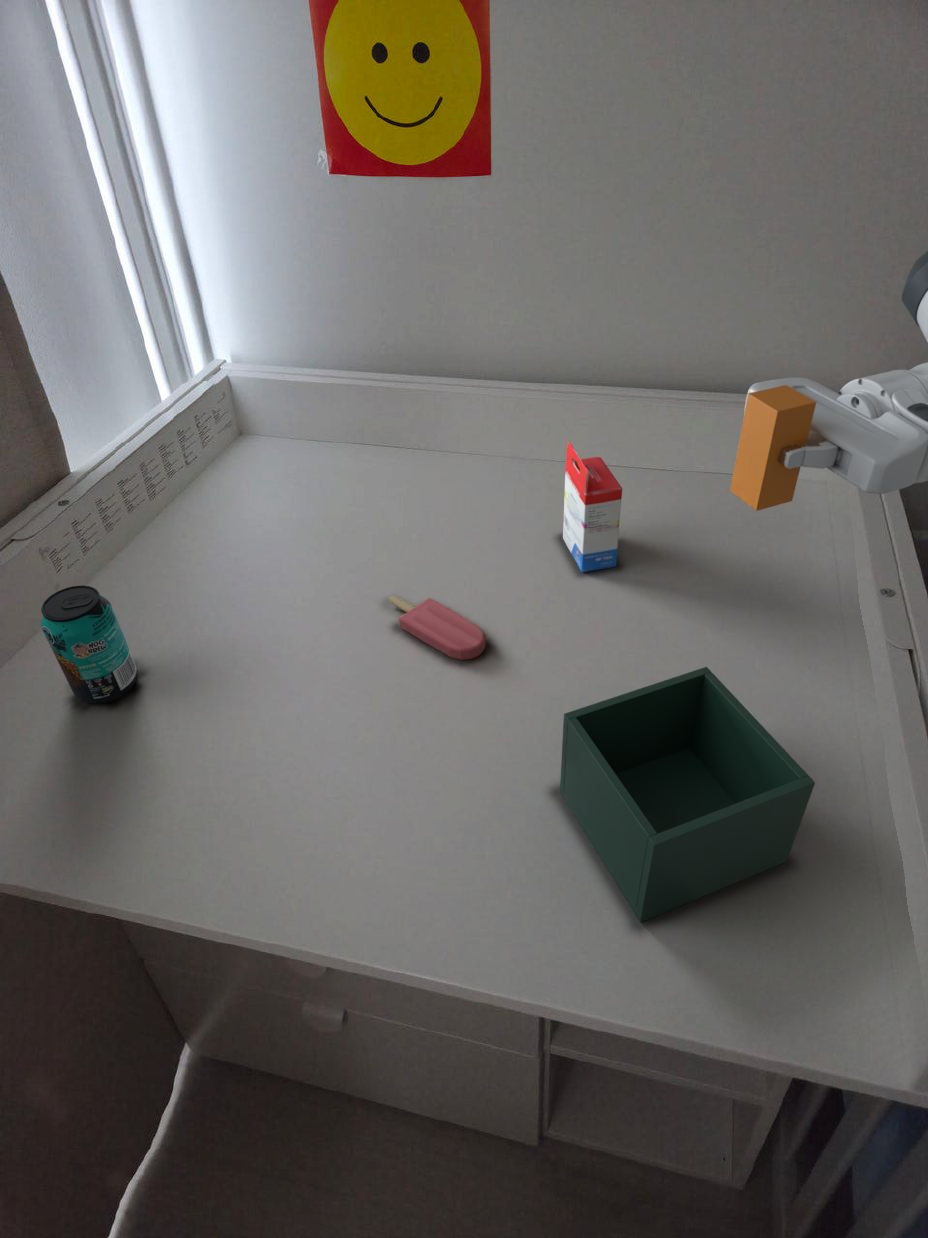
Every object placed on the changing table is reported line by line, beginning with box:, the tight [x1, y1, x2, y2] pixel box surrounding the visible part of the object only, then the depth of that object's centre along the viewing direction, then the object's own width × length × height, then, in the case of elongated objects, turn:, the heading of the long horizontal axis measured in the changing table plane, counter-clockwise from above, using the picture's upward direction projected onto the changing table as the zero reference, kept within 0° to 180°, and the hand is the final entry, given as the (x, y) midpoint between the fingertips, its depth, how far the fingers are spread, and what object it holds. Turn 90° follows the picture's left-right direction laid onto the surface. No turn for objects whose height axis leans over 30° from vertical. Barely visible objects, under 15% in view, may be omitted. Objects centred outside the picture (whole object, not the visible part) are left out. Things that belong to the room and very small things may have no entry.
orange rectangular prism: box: [729, 385, 816, 512], centre depth 82 cm, size 4×4×11 cm
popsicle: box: [388, 595, 486, 661], centre depth 96 cm, size 5×2×15 cm
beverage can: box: [40, 585, 139, 704], centre depth 88 cm, size 7×7×12 cm
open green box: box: [559, 666, 816, 923], centre depth 70 cm, size 15×15×11 cm
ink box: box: [562, 441, 623, 573], centre depth 103 cm, size 8×5×15 cm, turn 12°
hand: (764, 446), depth 81 cm, fingers closed on orange rectangular prism, 4 cm apart
